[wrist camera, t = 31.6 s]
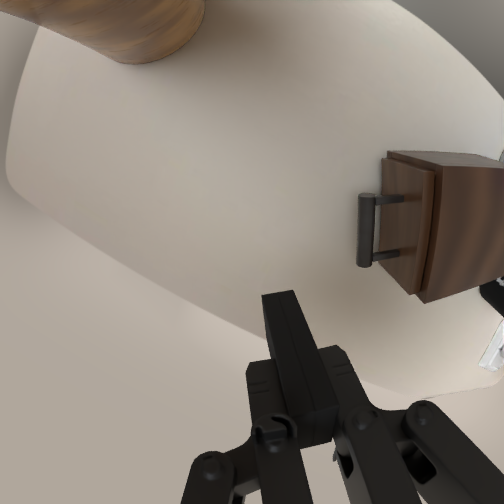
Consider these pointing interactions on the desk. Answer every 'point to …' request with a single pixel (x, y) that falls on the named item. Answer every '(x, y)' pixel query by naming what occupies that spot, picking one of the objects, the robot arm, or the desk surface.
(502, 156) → the beer can
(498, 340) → the grey figurine
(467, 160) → the cabinet
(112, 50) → the pedestal
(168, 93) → the desk surface
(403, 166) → the drawer
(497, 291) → the beverage can
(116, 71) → the desk surface
